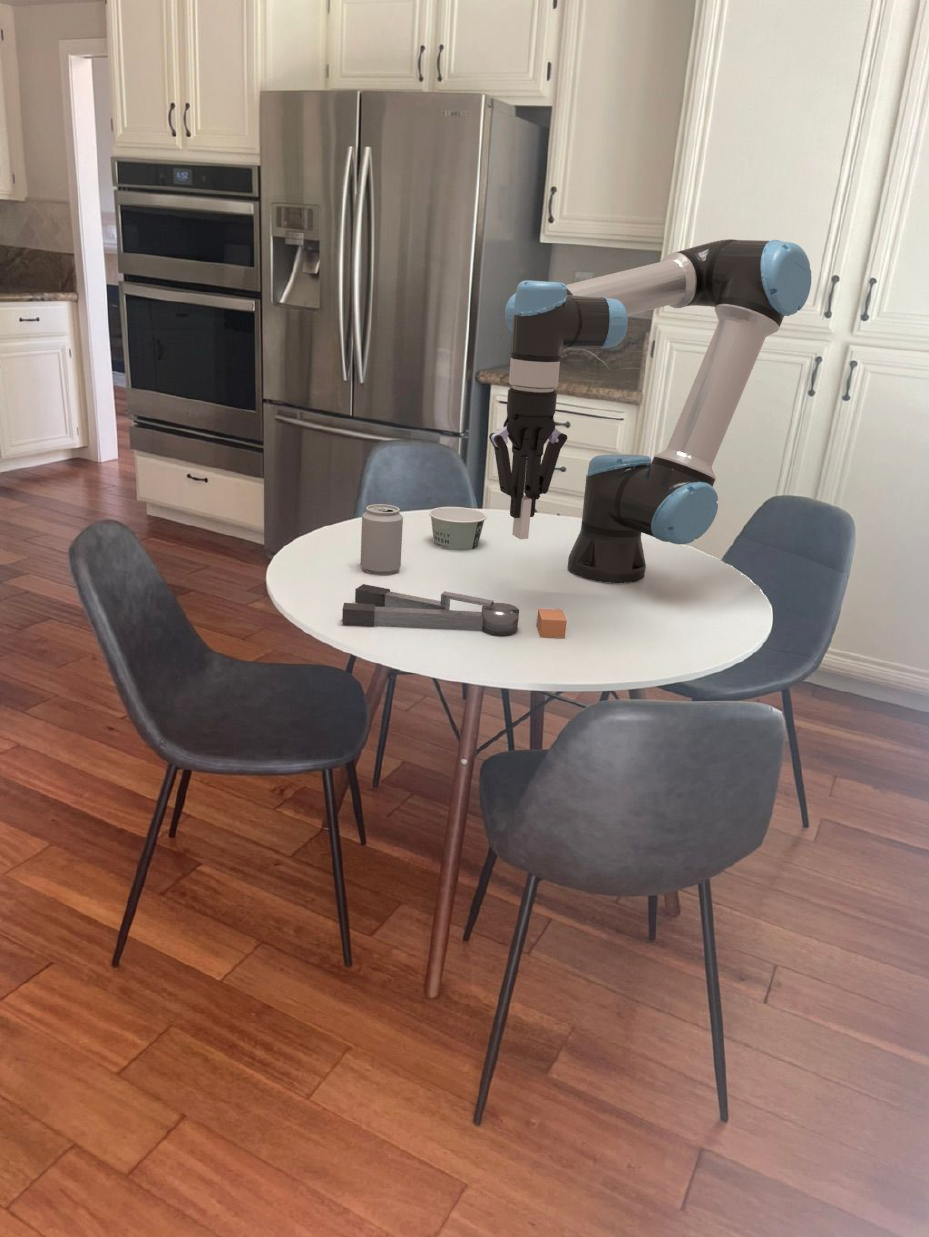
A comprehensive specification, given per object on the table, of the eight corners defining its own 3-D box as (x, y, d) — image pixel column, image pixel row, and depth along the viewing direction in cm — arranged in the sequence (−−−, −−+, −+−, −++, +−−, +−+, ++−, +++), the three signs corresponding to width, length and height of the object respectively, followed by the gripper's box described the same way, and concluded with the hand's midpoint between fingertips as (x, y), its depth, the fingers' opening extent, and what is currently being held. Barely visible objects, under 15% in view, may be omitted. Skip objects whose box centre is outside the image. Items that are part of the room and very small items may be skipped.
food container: (415, 543, 194) (417, 512, 192) (449, 533, 204) (451, 503, 202) (463, 556, 188) (465, 524, 186) (495, 545, 198) (498, 514, 195)
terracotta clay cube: (560, 626, 155) (562, 609, 154) (564, 638, 150) (566, 620, 149) (536, 625, 154) (538, 608, 153) (540, 637, 150) (541, 619, 149)
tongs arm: (493, 623, 153) (495, 599, 152) (487, 628, 151) (489, 604, 149) (362, 597, 160) (363, 574, 159) (355, 602, 158) (355, 579, 156)
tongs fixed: (515, 623, 155) (517, 603, 153) (519, 637, 149) (521, 616, 148) (344, 615, 153) (344, 594, 151) (341, 628, 147) (342, 607, 146)
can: (394, 578, 172) (397, 514, 168) (355, 572, 174) (357, 509, 169) (404, 566, 179) (407, 505, 175) (367, 561, 180) (369, 500, 176)
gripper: (557, 384, 150) (543, 528, 158) (483, 384, 144) (473, 532, 153) (582, 391, 143) (566, 540, 152) (506, 391, 138) (494, 546, 146)
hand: (520, 536), depth 152 cm, fingers closed
